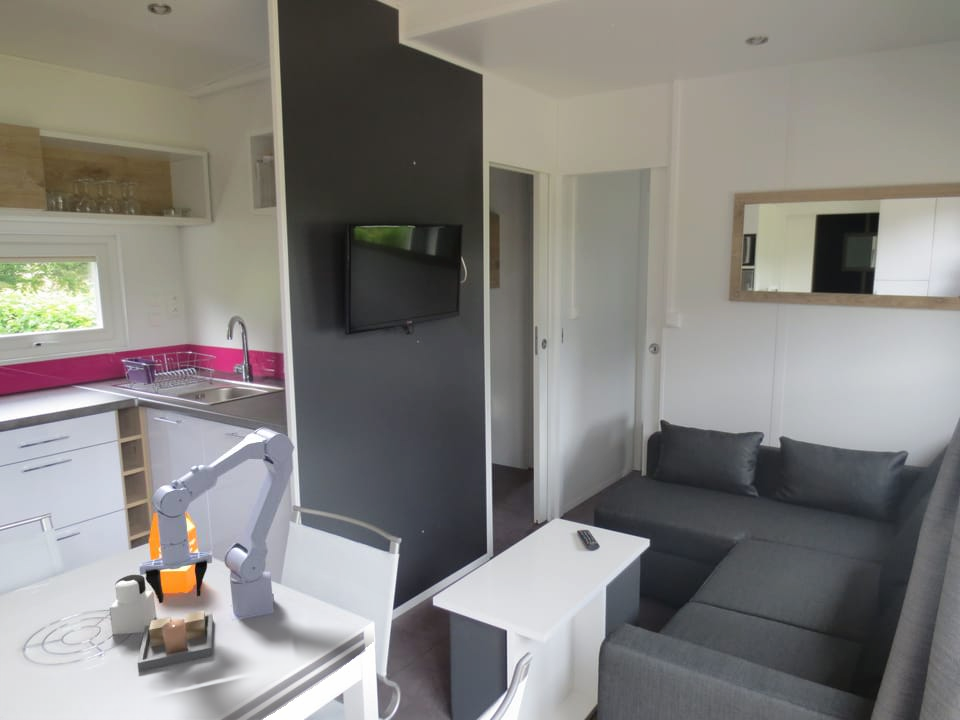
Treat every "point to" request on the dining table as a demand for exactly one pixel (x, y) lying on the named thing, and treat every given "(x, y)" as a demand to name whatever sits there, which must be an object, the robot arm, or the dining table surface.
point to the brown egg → (175, 637)
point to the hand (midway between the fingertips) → (180, 597)
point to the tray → (158, 657)
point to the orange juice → (174, 578)
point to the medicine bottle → (132, 606)
